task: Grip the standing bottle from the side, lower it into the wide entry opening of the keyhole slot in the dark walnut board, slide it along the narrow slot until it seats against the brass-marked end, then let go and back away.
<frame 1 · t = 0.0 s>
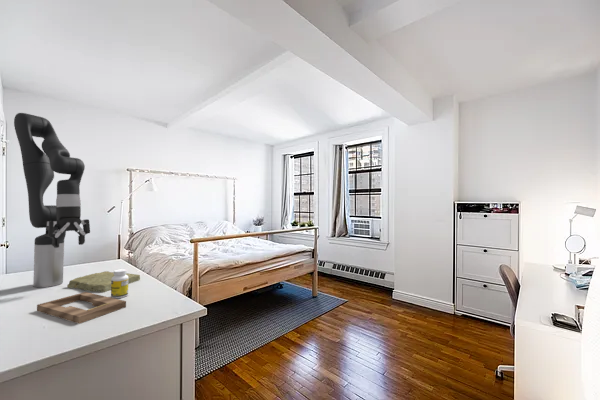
hand: (69, 246, 110), 17 cm above the table, tool pointing down, fingers open, 8 cm apart
supplement bottle: (119, 296, 102), on the table
keyhole board: (82, 309, 90), on the table
decorative tile: (103, 285, 117), on the table
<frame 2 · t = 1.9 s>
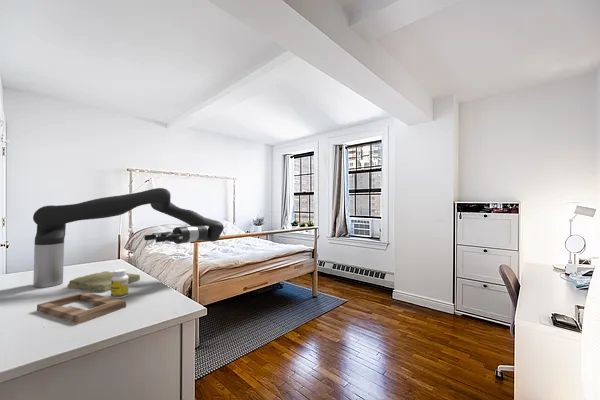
hand: (150, 238, 111), 21 cm above the table, tool horizontal, fingers open, 8 cm apart
nothing on the table moved.
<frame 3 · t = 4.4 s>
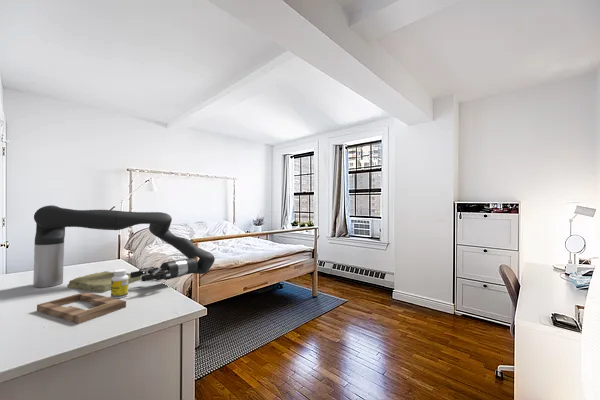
hand: (136, 277, 107), 6 cm above the table, tool horizontal, fingers open, 8 cm apart
nothing on the table moved.
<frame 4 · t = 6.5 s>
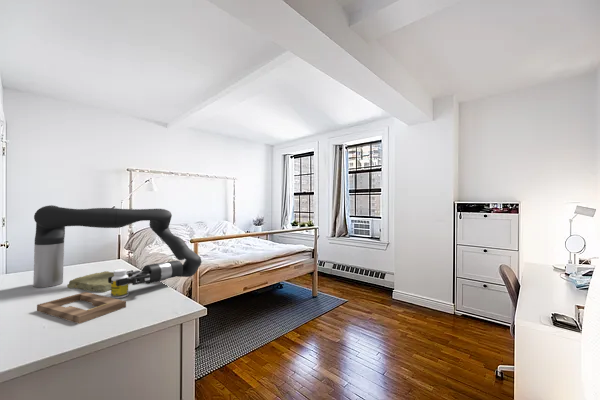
hand: (112, 281, 100), 6 cm above the table, tool horizontal, fingers closed on supplement bottle, 5 cm apart
supplement bottle: (119, 296, 102), on the table, touching gripper
everything else where it was.
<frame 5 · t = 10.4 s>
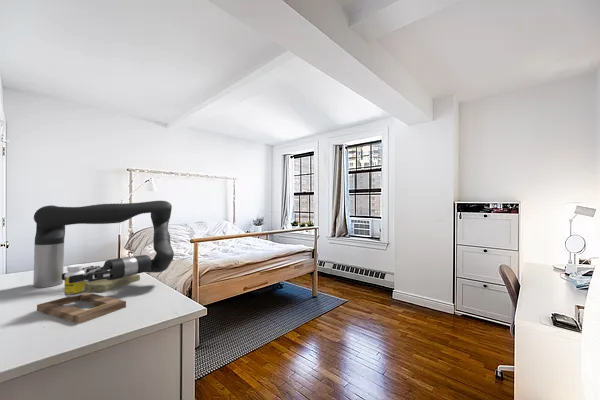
hand: (65, 278, 90), 10 cm above the table, tool horizontal, fingers closed on supplement bottle, 5 cm apart
supplement bottle: (75, 295, 92), point 4 cm above the table, touching gripper
everything else where it was.
when the fingers open (7 cm above the table, at t = 14.3 s): supplement bottle stays where it is, resting in keyhole board.
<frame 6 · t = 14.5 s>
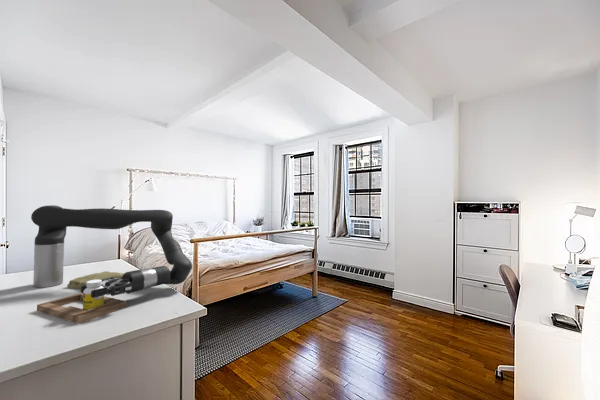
hand: (86, 291, 86), 7 cm above the table, tool horizontal, fingers open, 7 cm apart
supplement bottle: (93, 312, 88), resting in keyhole board
everything else where it was.
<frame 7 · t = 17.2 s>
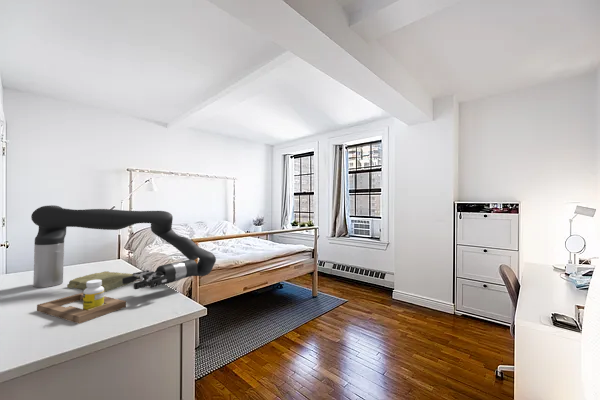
hand: (128, 283, 97), 6 cm above the table, tool horizontal, fingers open, 8 cm apart
nothing on the table moved.
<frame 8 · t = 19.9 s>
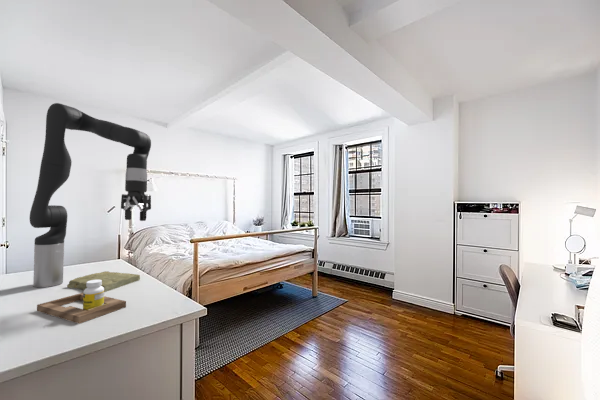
hand: (135, 220, 110), 28 cm above the table, tool pointing down, fingers open, 8 cm apart
nothing on the table moved.
at the end: supplement bottle 0.8 cm from the target spot on the keyhole board, point 0.0 cm above the keyhole board's base; supplement bottle tilted 0°; the gripper is holding nothing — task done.
